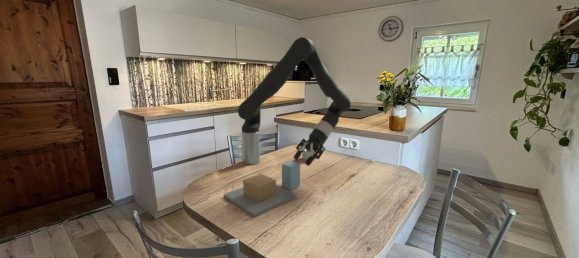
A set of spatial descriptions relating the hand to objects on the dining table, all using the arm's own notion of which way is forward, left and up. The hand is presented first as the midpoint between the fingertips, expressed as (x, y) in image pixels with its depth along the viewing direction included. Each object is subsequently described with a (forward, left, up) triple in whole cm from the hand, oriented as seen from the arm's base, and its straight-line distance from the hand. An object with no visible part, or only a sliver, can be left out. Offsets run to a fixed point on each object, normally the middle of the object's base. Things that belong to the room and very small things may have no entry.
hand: (300, 161), depth 110 cm
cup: (-20, +29, -10) cm, 37 cm away
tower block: (-1, -5, -10) cm, 11 cm away
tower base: (-2, -21, -10) cm, 23 cm away
